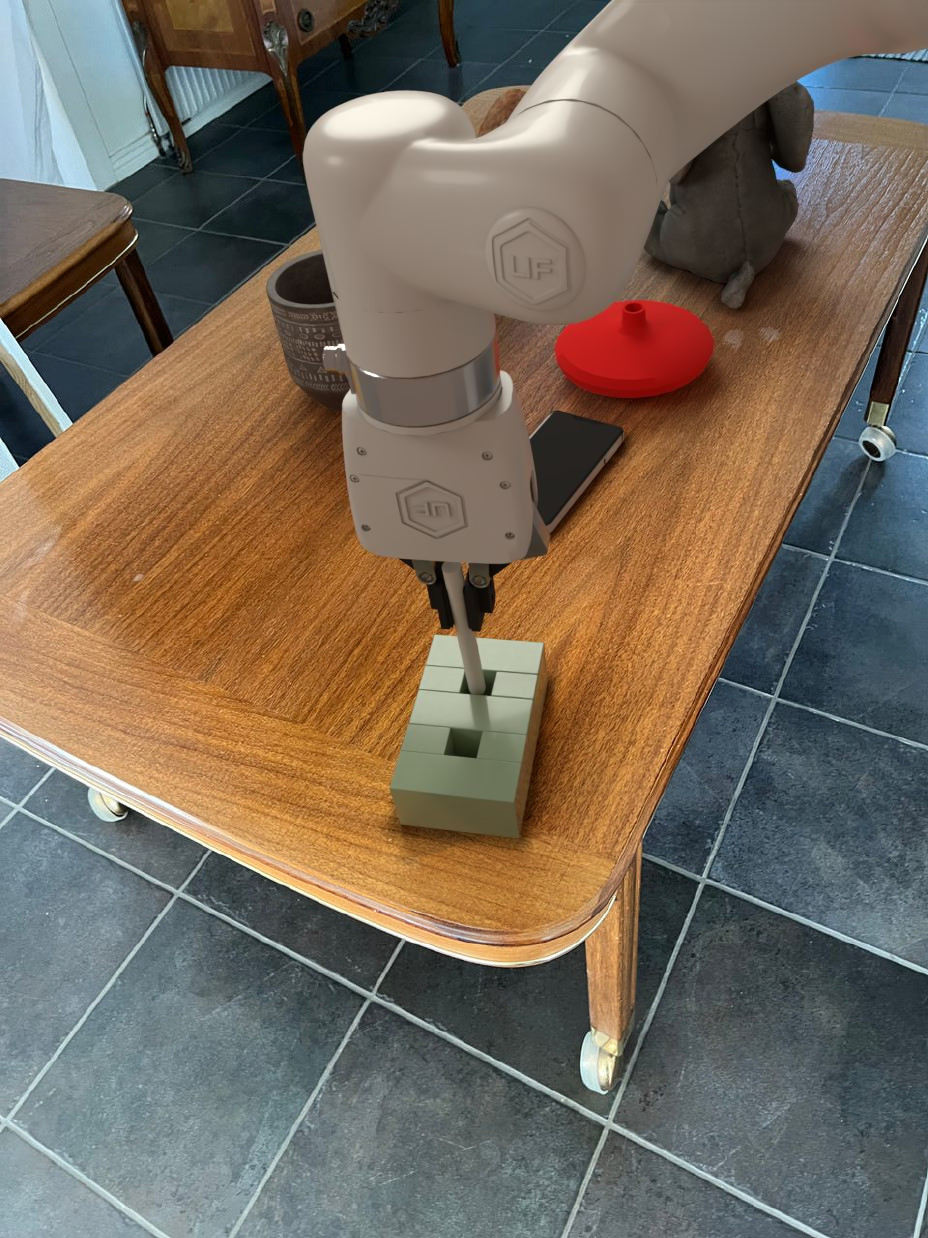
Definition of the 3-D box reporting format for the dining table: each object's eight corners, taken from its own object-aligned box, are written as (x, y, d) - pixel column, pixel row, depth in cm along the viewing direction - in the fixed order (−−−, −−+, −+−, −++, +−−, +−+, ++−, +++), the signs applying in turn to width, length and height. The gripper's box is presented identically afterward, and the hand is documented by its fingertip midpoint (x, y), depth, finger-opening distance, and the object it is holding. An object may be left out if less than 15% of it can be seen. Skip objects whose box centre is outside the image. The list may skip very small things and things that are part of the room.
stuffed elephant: (692, 200, 122) (706, -52, 103) (839, 244, 111) (887, -31, 91) (590, 262, 115) (584, 2, 95) (737, 316, 103) (765, 33, 83)
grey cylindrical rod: (488, 688, 69) (463, 559, 58) (485, 702, 68) (459, 574, 57) (471, 687, 69) (443, 557, 58) (468, 701, 68) (439, 573, 57)
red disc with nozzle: (604, 316, 106) (603, 255, 101) (738, 349, 99) (745, 285, 94) (526, 390, 98) (521, 328, 93) (665, 433, 91) (668, 368, 86)
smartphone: (470, 501, 86) (552, 408, 94) (471, 511, 87) (553, 418, 94) (549, 527, 82) (627, 428, 90) (550, 537, 83) (627, 438, 91)
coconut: (464, 191, 132) (456, 114, 125) (490, 152, 140) (483, 78, 132) (532, 192, 129) (527, 114, 122) (554, 153, 137) (550, 77, 130)
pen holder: (442, 672, 74) (434, 633, 71) (548, 681, 72) (544, 642, 69) (400, 824, 65) (388, 788, 62) (519, 839, 64) (514, 802, 60)
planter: (393, 345, 107) (371, 234, 98) (424, 402, 99) (404, 286, 90) (287, 375, 105) (255, 264, 96) (309, 435, 97) (277, 321, 88)
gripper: (258, 408, 48) (336, 649, 61) (568, 416, 45) (578, 669, 58) (304, 327, 53) (366, 566, 66) (586, 329, 50) (592, 581, 63)
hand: (465, 613), depth 62 cm, fingers closed on grey cylindrical rod, 1 cm apart
